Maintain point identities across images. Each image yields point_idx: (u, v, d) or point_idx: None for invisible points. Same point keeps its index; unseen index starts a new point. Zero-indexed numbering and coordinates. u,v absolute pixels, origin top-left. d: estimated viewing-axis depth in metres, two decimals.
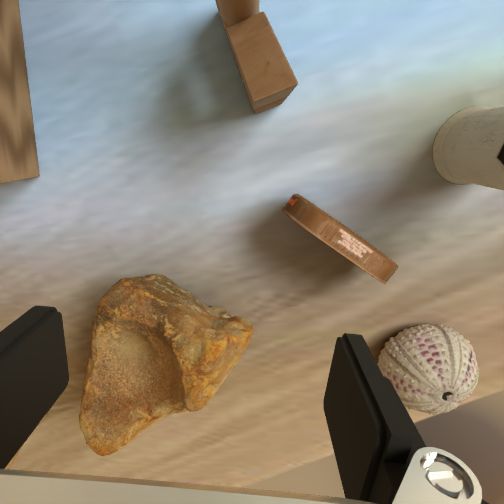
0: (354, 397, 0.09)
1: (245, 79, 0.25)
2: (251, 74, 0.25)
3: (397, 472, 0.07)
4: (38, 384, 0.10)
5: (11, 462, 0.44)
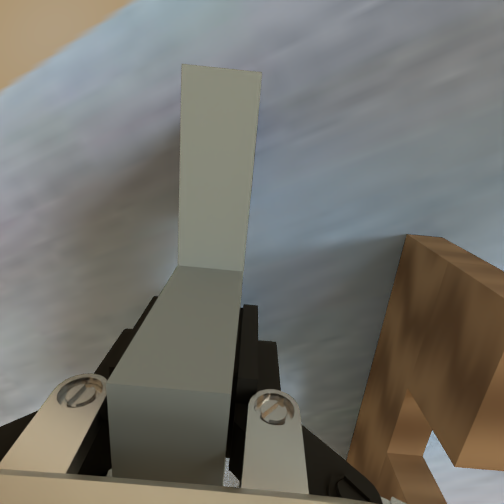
0: None
1: None
2: None
3: (243, 411, 0.08)
4: None
5: None
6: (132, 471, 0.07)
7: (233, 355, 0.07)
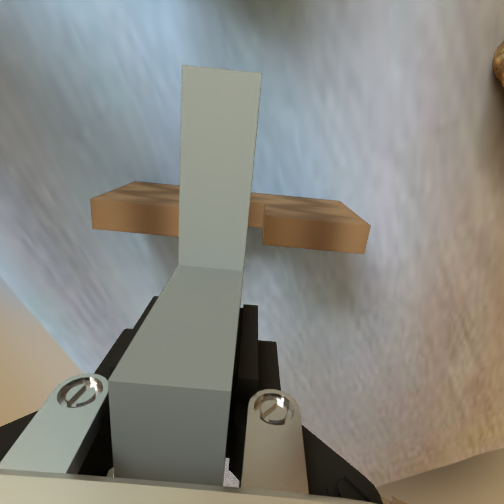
0: None
1: None
2: None
3: (243, 411, 0.08)
4: None
5: None
6: (132, 468, 0.07)
7: (233, 353, 0.07)
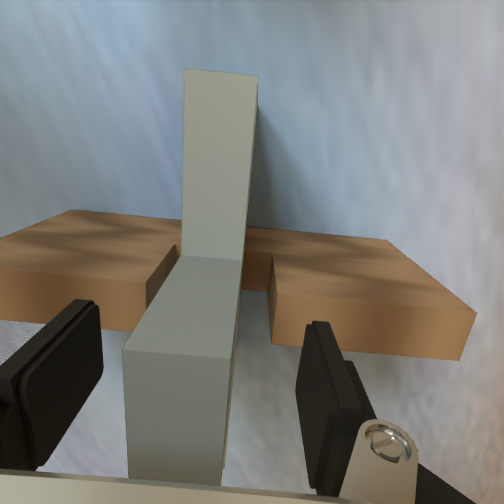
0: (316, 377, 0.09)
1: None
2: None
3: (347, 443, 0.07)
4: (80, 372, 0.10)
5: None
6: (143, 430, 0.08)
7: (233, 328, 0.08)
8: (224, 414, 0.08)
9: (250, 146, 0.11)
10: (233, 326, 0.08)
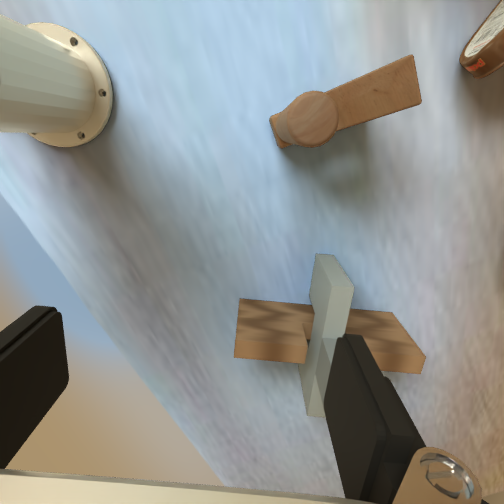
0: (354, 397, 0.09)
1: (388, 113, 0.27)
2: (385, 106, 0.27)
3: (397, 473, 0.07)
4: (38, 384, 0.10)
5: None
6: None
7: None
8: None
9: None
10: None
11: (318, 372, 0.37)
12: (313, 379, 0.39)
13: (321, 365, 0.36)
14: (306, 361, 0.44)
